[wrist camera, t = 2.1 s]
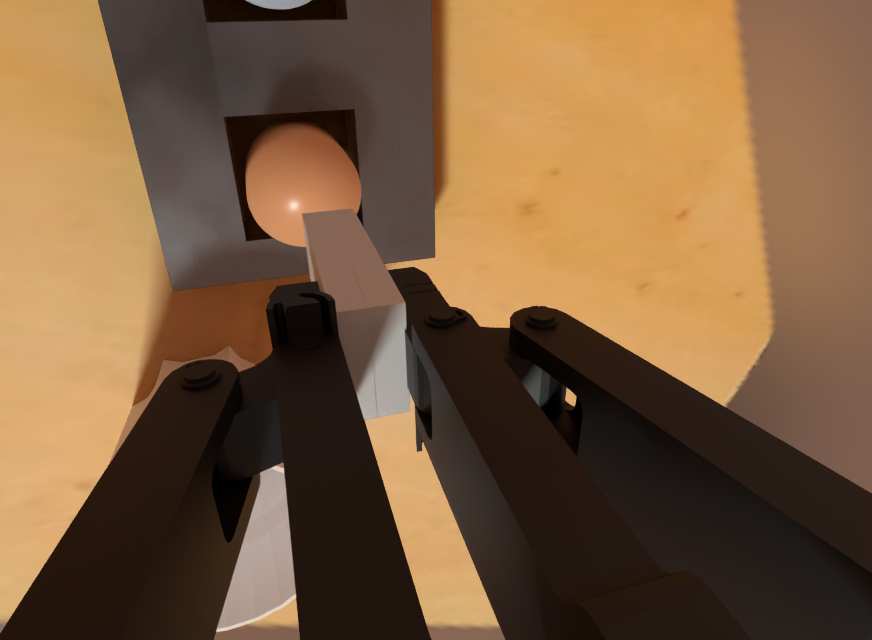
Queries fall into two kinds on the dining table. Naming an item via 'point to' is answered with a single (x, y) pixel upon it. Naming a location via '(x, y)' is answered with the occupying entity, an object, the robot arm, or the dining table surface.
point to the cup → (249, 531)
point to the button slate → (278, 3)
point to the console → (274, 94)
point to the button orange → (297, 178)
